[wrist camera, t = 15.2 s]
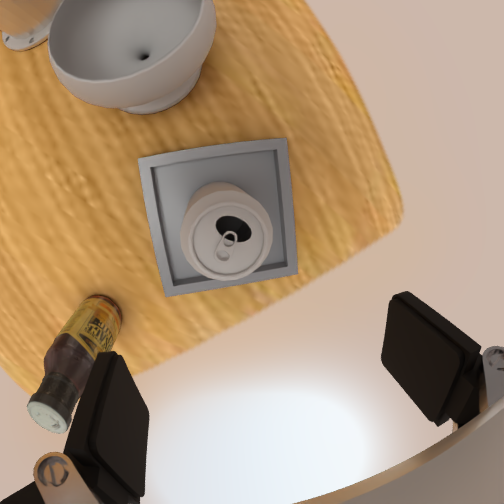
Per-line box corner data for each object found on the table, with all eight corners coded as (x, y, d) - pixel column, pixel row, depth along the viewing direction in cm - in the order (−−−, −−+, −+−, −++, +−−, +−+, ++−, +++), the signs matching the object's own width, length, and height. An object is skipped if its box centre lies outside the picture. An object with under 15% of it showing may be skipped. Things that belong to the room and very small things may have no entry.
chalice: (92, 35, 24) (43, -19, 10) (203, 10, 25) (211, -64, 11) (99, 136, 28) (35, 125, 14) (217, 110, 30) (232, 72, 16)
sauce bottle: (129, 329, 36) (97, 447, 18) (91, 334, 35) (45, 443, 17) (113, 286, 34) (57, 396, 15) (74, 293, 33) (5, 394, 15)
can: (262, 197, 33) (295, 218, 22) (234, 255, 35) (252, 302, 23) (202, 170, 31) (203, 175, 20) (175, 230, 33) (163, 268, 21)
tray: (142, 158, 30) (137, 158, 28) (280, 139, 32) (286, 137, 30) (167, 288, 35) (165, 297, 33) (291, 266, 37) (297, 273, 35)
